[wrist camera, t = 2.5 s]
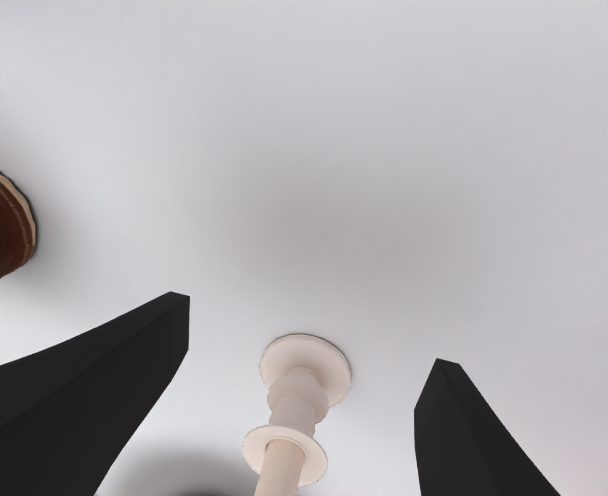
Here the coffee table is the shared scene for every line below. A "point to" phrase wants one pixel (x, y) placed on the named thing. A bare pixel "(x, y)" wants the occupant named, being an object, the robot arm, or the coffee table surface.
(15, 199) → the coffee cup
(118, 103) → the coffee table surface
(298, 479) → the candle
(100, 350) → the robot arm
